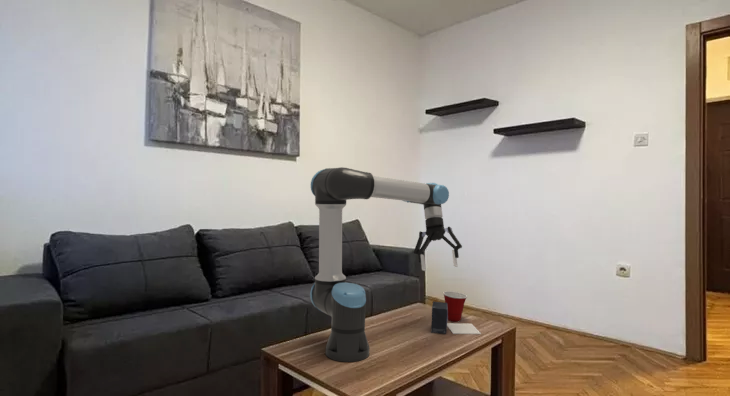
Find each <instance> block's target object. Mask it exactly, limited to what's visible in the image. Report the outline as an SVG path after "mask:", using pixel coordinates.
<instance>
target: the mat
mask: <svg viewBox="0 0 730 396" xmlns="http://www.w3.org/2000/svg"><path fill="white" fill-rule="evenodd" d="M447 328H448V330H450V332H451V333H452V334H453V335H482V333H481V331H479V330H478V329H477V327H476V326H475V325H473V323H464V322H463V323H459V322H453V323H451V322H449V323H448V322H447Z"/></svg>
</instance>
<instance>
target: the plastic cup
mask: <svg viewBox="0 0 730 396" xmlns="http://www.w3.org/2000/svg"><path fill="white" fill-rule="evenodd" d="M442 294H443V298H444V303H447V307H448V318H447V321H449V322H453V323H459V322H460V321H461V319H462V315H463V311H464V306H465V302H466V299H467V298H468V295H467V294H465V293H463V292H459V291H453V290H447V291H446V290H445V291H443V292H442ZM458 321H459V322H458Z"/></svg>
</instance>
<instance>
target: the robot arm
mask: <svg viewBox="0 0 730 396" xmlns="http://www.w3.org/2000/svg"><path fill="white" fill-rule="evenodd" d="M310 191H311V193H312V195H313V196H314V201H315V202H314V204H315V206H316V207H317V209H318V213H319V215H318V216H319V217H318V219H319V220H318V221H319V222H318V223H319V224H318V273H317V275H315V277H314V283H313V285H312V286H311V289H310V291H309V292H310V293H309V297H310V302H311V303H312V305H313V307H314V308H315V309H317V310H318V311H320V312H322V313H324V314H326V315H328V316H329V317H331V323H330V325H331V330H330V334H329V336H328V340H327V343H326V344H325V355H326V357H327V358H329V359H331V360H332V361H337V362H345V363H346V362H347V363H349V362H350V363H351V362H359V361H362V360H365V359H367V358H368V357H369V356H370V344H369V342H368V341H369V340H368V337H367V335H366V331H365V330H366V302H367V295H366V291H365V290H366V289H365V288H364V287H363V286H361V285H359V284H357V283H352V282H347V277H346V275H345V274H344V273H343V209H344V208H345V207H346V206H347V200H369V199H371V198H376V199H378V198H379V199H387V200H395V201H396V200H397V201H401V202H405V203H410V204H417V205H418V204H419V205H423V212H424V219H425V221H424V222H425V223H424V224H425V230H426V231H419V232H418V233H419V234H418V237H417V238H418V239H417V242H416V244H415V248H414V249H413V250H414V251H413V254H414V255H416V256H418V257H417V258H418V262H419V263H420V265H421V271H423V272H424V271H425V272H426V271H427V269H426V261H425V260H426V259H425V254H424V253H425V251H426V250H427V248H428V246H429V245H430V243H431V242H432V241H433V242H435V241H441V240H444V242H446V244H448V245H449V246H450V247H451V248H452V249H451V254H452V260H453V261H452V262H453V266H454V268H455V267H456V268H458V260H457V259H458V258H460V257H459V255H460V254H459V250H460V249H462V248H463V245H462V243H461V242H460V241H459V240H458V238H457V237H456V235H455V234H454V232H453V228H452V227H450V226H447V227H446V228H445V227H444V218H443V217H444V216H443V210H442V209H443V208H442V205H444V204H445V203H446V202H447V201H448V200H449V197H450V192H449V189H448V187H447V186H446V185H444V184H438V183H436V182H426V183H425V182H424V183H423V182H417V181H410V180H404V179H403V180H402V179H396V178H389V177H380V176H375V175H373V173H372V172H368V171H361V170H357V169H352V168H348V167H343V166H342V167H332V168H331V167H329V168H324V169H321V170H318V171H317V172H315V174H314V175H313V176H312V178H311V181H310ZM446 233H447V234H448V235H449V236H450V237H451V239H452V240H453V242H454V243H455V244H454V243H453V242H452V241H451V240H449V238H447V237H446V235H445V234H446ZM425 236H426V238H425ZM424 238H425V240H424ZM423 241H424V243H423Z"/></svg>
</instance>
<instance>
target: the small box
mask: <svg viewBox="0 0 730 396" xmlns="http://www.w3.org/2000/svg"><path fill="white" fill-rule="evenodd" d="M447 323H448V307H447V303H445V302H443V301H442V302H441V301H432V306H431V324H430V327H431V328H430V333H431V334H441V335H447V330H448V329H447V328H448V327H447Z"/></svg>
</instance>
